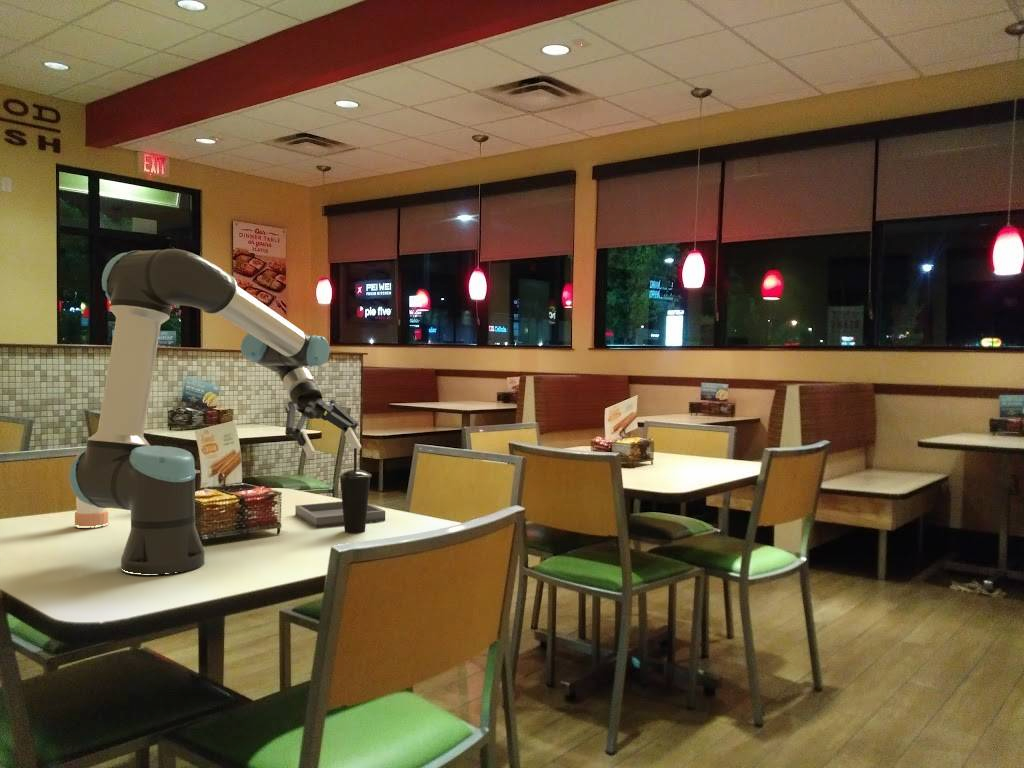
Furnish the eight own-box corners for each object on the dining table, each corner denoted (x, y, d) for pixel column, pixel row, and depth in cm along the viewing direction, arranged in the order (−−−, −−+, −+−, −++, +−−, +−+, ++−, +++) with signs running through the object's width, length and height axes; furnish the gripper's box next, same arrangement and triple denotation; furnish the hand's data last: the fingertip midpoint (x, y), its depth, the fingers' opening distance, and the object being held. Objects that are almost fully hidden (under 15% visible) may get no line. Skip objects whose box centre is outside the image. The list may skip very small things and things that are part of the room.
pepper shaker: (68, 526, 190) (68, 448, 190) (98, 521, 197) (98, 445, 196) (84, 530, 186) (84, 450, 186) (114, 525, 193) (114, 447, 192)
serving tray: (316, 527, 192) (316, 517, 192) (295, 514, 207) (295, 505, 207) (385, 520, 201) (385, 510, 201) (360, 508, 217) (360, 499, 217)
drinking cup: (367, 534, 185) (368, 450, 184) (335, 534, 185) (335, 450, 184) (373, 527, 193) (374, 446, 192) (342, 527, 193) (343, 446, 192)
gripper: (337, 397, 216) (370, 457, 206) (253, 400, 198) (284, 466, 188) (348, 379, 212) (382, 439, 202) (264, 380, 194) (296, 446, 184)
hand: (335, 452), depth 195 cm, fingers open, 13 cm apart
